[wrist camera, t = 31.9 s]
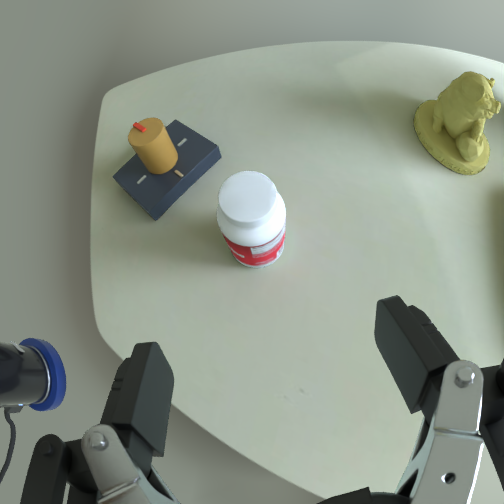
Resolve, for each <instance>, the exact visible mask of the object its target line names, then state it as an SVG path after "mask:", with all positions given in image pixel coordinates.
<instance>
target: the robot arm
mask: <svg viewBox="0 0 504 504" xmlns="http://www.w3.org/2000/svg"><path fill="white" fill-rule="evenodd" d="M374 335H375V341H376V344H377V347H378V349H379V351H380V353H381V355H382V357H383V358H384V360H385V362H386V364H387V366H388V368H389V370H390V372H391V374H392V376H393V378H394V380H395V382H396V384H397V386H398V388H399V390H400V392H401V394H402V396H403V398H404V400H405V402H406V404H407V406H408V408H409V410H410V412H411V414H412V413H415V412H417V411H420V410H422V412H423V414H424V417H423V420H422V423H421V427H420V430H419V433H418V437H417V440H416V443H415V446H414V449H413V452H412V455H411V457H410V460H409V463H408V465H407V467H406V469H405V471H404V473H403V475H402V477H401V479H400V481H399V483H398V486H397V488H396V490H395V493H387V492H371V493H370V490H369V487H366V488H363V489H360V490H356V491H353V492H349V493H346V494H342V495H338V496H334V497H331V498H329V499H326V500H324V501H322V502H320V503H317V504H469V502H470V498H471V495H472V491H473V488H474V484H475V480H476V476H477V472H478V468H479V463H480V459H481V454H482V448H483V440H484V442H485V445H486V447H487V449H488V452H489V454H490V456H491V459H492V461H493V464H494V466H495V469H496V471H497V474H498V476H499V479H500V482H501V485H502V488H503V491H504V359H503V361H502V363H501V365H497V366H491V367H485V368H479V367H478V366H477V365H476V364H475V363H473V362H471V361H467V360H460V359H459V358H458V356H457V355H456V353H455V352H454V351H453V349H452V348H451V347H450V345H449V344H448V343H447V341H446V340H445V339H444V337H443V336H442V335H441V333H440V332H439V331H437V328H436V327H435V325H434V324H433V323H431V320H430V319H429V318H428V316H427V315H426V314H425V313H424V312H423V311H422V310H420V309H418V308H417V307H415V306H413V305H411V306H408V307H407V305H406V304H405V303H404V301H403V300H402V299H401V298H400V297H399V296H398V295H396V296H392V297H389V298H385V299H381V300H378V302H377V308H376V320H375V331H374ZM10 342H11V341H10ZM11 343H12V344H9V343H2V342H0V408H1V407H4V408H5V410H4V414H5V418H6V420H7V422H8V423H9V424H10V428H11V439H10V444H9V449H8V453H7V458H6V461H5V464H4V466H3V468H2V470H1V472H0V483H1V481H2V479H3V477H4V475H5V472H6V471H7V469H8V466H9V464H10V461H11V457H12V453H13V449H14V445H15V438H16V431H15V425H14V423H13V421H12V420H11V419H10V415H9V413H17V412H20V411H21V409H22V408H23V406H27V405H32V404H40V403H43V402H45V401H46V400H47V398H48V397H49V395H50V391H51V384H52V380H51V372H50V368H49V365H48V362H47V360H46V358H45V356H44V355H43V354H42V352H41V351H40V350H39V349H37V348H36V347H34V346H23V345H17V344H16V343H15V342H11ZM114 380H115V381H114V382H113V384H112V388H111V389H112V390H111V391H110V393H109V396H108V399H107V402H106V406H105V409H104V412H103V415H102V418H101V421H100V424H98V425H95V426H92V427H91V428H90V429H88V430H87V431H86V432H85V434H84V436H83V437H82V439H78V440H73V441H68V442H63V441H62V440H61V439H60V438H59V437H57V436H56V435H53V434H48V435H45V436H43V437H42V438H40V439H39V441H38V442H37V443H36V445H35V448H34V452H33V455H32V458H31V462H30V465H29V469H28V472H27V476H26V480H25V484H24V488H23V493H22V498H21V502H20V504H62V503H63V497H64V491H65V486H66V483H68V484H69V485H70V489H69V494H68V500H67V504H181V503H180V502H179V501H178V500H177V499H176V498H175V496H174V495H173V493H172V492H171V491H170V490H169V488H168V487H167V485H166V484H165V483H164V481H163V480H162V478H161V477H160V475H159V474H158V473H157V471H156V470H155V468H154V467H153V465H152V464H151V462H152V456H154V457H156V456H157V457H163V456H164V448H165V440H166V433H167V426H168V419H169V412H170V406H171V399H172V393H173V387H174V376H173V372H172V369H171V367H170V365H169V363H168V361H167V360H166V358H165V356H164V354H163V352H162V350H161V348H160V346H159V345H158V343H157V342H146V343H137V344H136V345H135V346H134V349H133V352H132V355H131V358H126V359H125V360H124V361H123V363H122V364H121V365H120V367H119V368H118V370H117V373H116V376H115V379H114ZM478 429H479V431H480V433H481V435H479V434H478Z"/></svg>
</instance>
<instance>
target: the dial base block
mask: <svg viewBox="0 0 504 504" xmlns="http://www.w3.org/2000/svg"><path fill="white" fill-rule="evenodd" d="M165 129H166V131H167V133H168V135H169V137H170V139H171V141H172V143H173V145H174V147H175V149H176V151H177V153H178V160H177V162H176V164H175V165H174V167H173V168H172V169H171V170H169V171H168V172H166V173H163V174H152V173H150V172H149V171H148V169H147V168H146V167H145V165H144V164H143V162H142V161H141V159H140V158H139V156H138V155H137V153H136V154H135V155H134V156H133V157H132V158H131V159H130V160H129V161H128V162H127V163H126V164H125V165H124V166H123V167H122V168H121V169H120V170H119V171H118V172H117V173H116V174H115V175H114V176H113V178H114V179H115V180H116V182H117V183H118V184H119V185H120V186H121V187H122V188H123V189H124V190H125V191H126V192H127V193H128V194H129V195H130V196H131V197H132V198H133V199H134V200H135V201H136V202H137V203H138V204H139V205H140V206H141V207H142V208H143V209H144V210H145V211H146V212H147V213H148V214H149V215H150V216H151V217H152V218H153V219H154V220H155V221H156V220H157V219H158V218H159V217H160V216H161V215H162V214H163V213H164V212H165V211H166V210H167V209H168V208H169V207H170V206H171V205H172V204H173V203H174V202H175V201H176V200H177V199H178V198H179V197H180V196H181V195H182V194H183V193H184V192H185V191H186V190H187V189H188V188H189V187H190V186H191V185H192V184H194V183H195V182H196V181H197V180H198V179H199V178H200V177H201V176H202V175H203V174H204V173H205V172H206V171H207V170H208V169H209V168H211V167H212V166H213V165H214V164H215V163H216V162H217V161H218V160H219V159H220V158H221V154H220V150H219V147H218V146H217V145H216V144H214V143H213V142H211V141H209V140H208V139H206V138H205V137H203V136H202V135H200V134H198V133H197V132H195V131H194V130H192V129H190V128H189V127H187V126H185V125H184V124H182V123H180V122H179V121H177V120H174V121H173V122H172V123H171V124H169V125H168V126H167V127H166V128H165Z"/></svg>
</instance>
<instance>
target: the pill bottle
mask: <svg viewBox="0 0 504 504" xmlns="http://www.w3.org/2000/svg"><path fill="white" fill-rule="evenodd" d="M218 202H219V204H218V207H217V222H218V225H219V228H220V230H221V232H222V234H223V236H224V238H225V240H226V242H227V244H228V246H229V248H230V250H231V252H232V254H233V256H234V257H235V258H236V259H237V260H238V261H239V262H240V263H241V264H243V265H245V266H248V267H252V268H261V267H265V266H268V265H270V264H272V263H273V262H275V261H276V260H277V259H278V258H279V256H280V255H281V253H282V251H283V248H284V243H285V222H286V209H285V205H284V202H283V199H282V198H281V196H280V195H279V193H278V192H277V191H276V187H275V185H274V183H273V182H272V181H271V180H270V179H269V178H268V177H267V176H265V175H264V174H262V173H259V172H256V171H242V172H238V173H236V174H233V175H232V176H230V177H229V178H228V179H226V180H225V182H224V183H223V184H222V186H221V188H220V190H219V194H218Z"/></svg>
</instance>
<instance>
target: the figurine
mask: <svg viewBox="0 0 504 504" xmlns="http://www.w3.org/2000/svg"><path fill="white" fill-rule="evenodd" d="M494 82H495V80H494V79H493V78H491V79H490V80H489V79H487V78H486V77H485V76H483V75H481V74H477V73H474V72H471V71H470V72H464V73H463V74H462V75H461V76H460V77H458V78H457V79H455V80H453V81H452V83H451V84H450V85H449V86H448V87H447V88H446V89H445V90H444V91H443V92H441V93H440V95H439V96H438V99H437V100H428V101H426V102H424V103H422V104H421V105H420V106H419V107H418V108H417V110H416V112H415V117H414V127H415V131H416V133H417V135H418V138H419V140H420V141H421V143H422V144H423V146H424V147H425V148H426V150H427V151H428V152H429V153H430V154H431V155H432V156H433V157H434V158H435V159H436V160H438V161H439V162H440V163H441V164H443V165H444V166H446V167H447V168H449V169H451V170H453V171H455V172H457V173H460V174H464V175H474V174H477V173H479V172H481V171H482V170H483V169H484V168H485V166H486V165H487V163H488V160H489V155H490V147H489V144H488V140H487V139H486V137H485V135H484V133H483V129H484V124H485V122H486V119H491V118H492V116H493V115H494V113H496V114H497V113H499V111H500V108H501V102H499V101H496V100H495V99H494V97H493V93H492V90H491V89H492V87H493V85H494Z"/></svg>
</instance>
